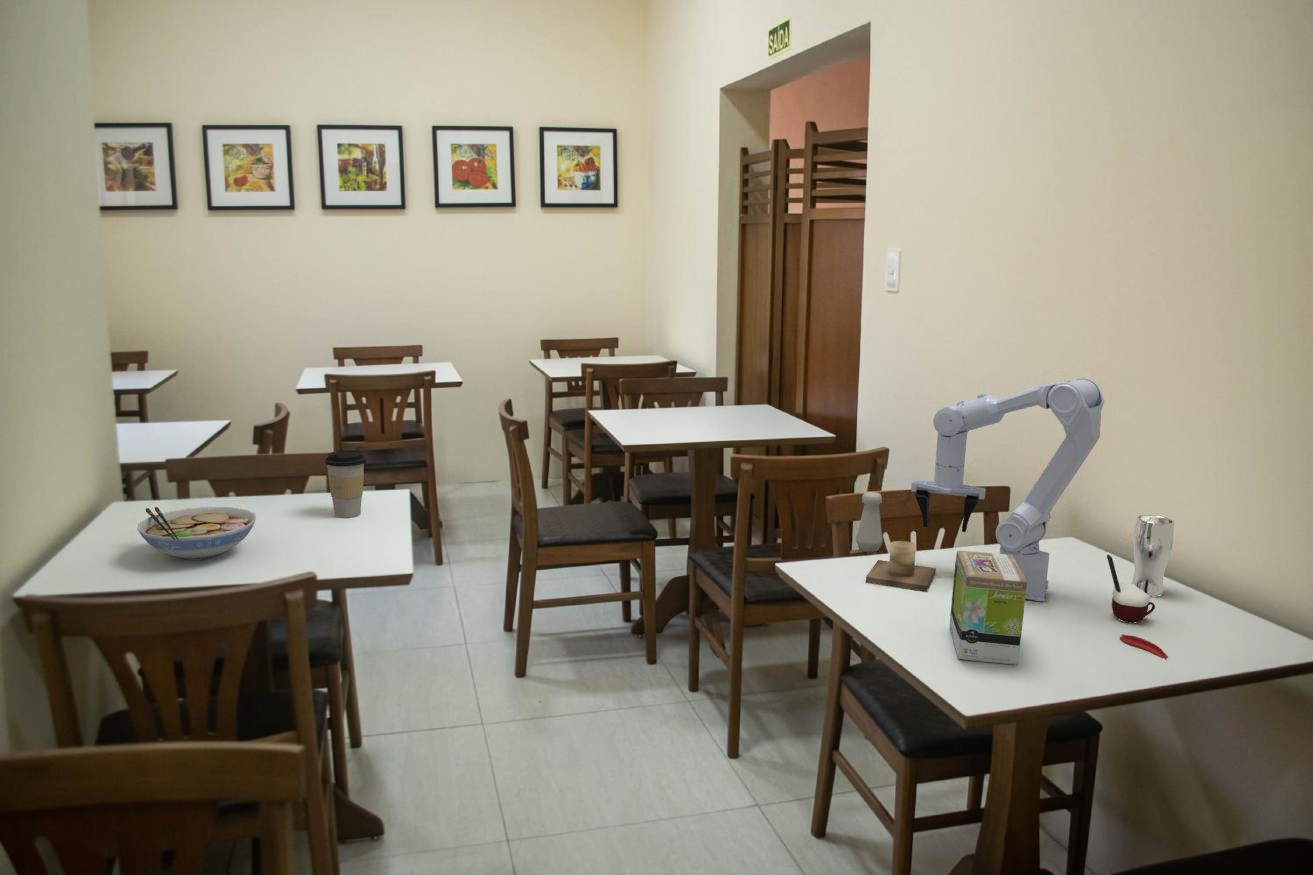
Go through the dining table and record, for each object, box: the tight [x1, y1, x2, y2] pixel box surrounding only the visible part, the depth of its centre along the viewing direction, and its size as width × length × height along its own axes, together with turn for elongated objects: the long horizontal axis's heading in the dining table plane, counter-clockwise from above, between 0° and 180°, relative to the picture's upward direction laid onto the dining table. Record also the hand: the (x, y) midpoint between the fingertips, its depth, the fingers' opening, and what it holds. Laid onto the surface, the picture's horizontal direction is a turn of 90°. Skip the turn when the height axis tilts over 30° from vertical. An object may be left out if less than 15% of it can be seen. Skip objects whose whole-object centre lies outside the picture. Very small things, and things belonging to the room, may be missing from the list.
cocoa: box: [1106, 554, 1156, 624], centre depth 189 cm, size 10×6×12 cm, turn 67°
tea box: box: [949, 550, 1027, 665], centre depth 175 cm, size 15×10×15 cm, turn 170°
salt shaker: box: [855, 491, 884, 553], centre depth 227 cm, size 6×6×13 cm
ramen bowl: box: [137, 506, 257, 561], centre depth 214 cm, size 25×23×8 cm
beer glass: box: [1130, 514, 1175, 596], centre depth 203 cm, size 7×7×15 cm
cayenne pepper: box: [1119, 634, 1169, 661], centre depth 177 cm, size 12×5×2 cm, turn 5°
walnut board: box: [865, 559, 937, 593], centre depth 210 cm, size 12×12×1 cm
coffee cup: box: [324, 449, 367, 519], centre depth 245 cm, size 9×9×15 cm
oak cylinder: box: [888, 540, 917, 577], centre depth 209 cm, size 5×5×6 cm
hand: (944, 528), depth 212 cm, fingers open, 7 cm apart
